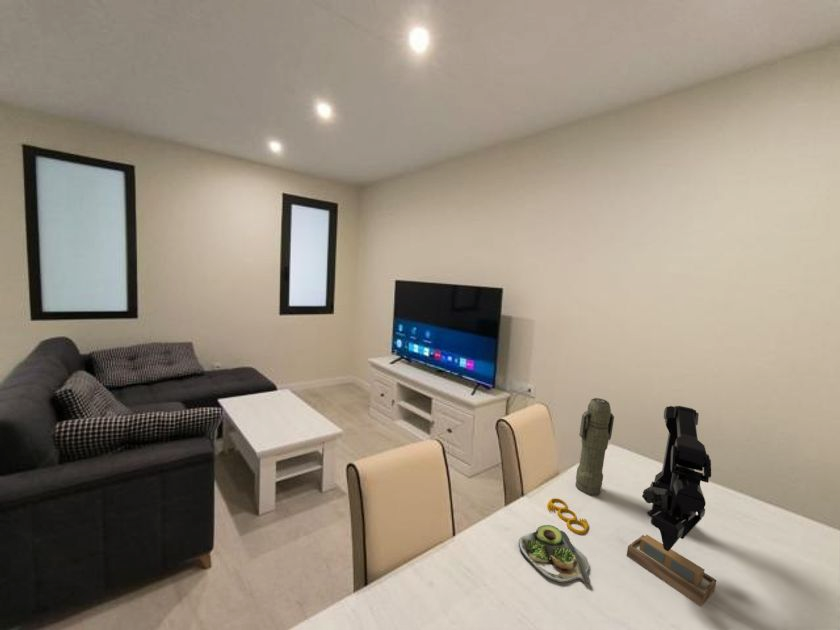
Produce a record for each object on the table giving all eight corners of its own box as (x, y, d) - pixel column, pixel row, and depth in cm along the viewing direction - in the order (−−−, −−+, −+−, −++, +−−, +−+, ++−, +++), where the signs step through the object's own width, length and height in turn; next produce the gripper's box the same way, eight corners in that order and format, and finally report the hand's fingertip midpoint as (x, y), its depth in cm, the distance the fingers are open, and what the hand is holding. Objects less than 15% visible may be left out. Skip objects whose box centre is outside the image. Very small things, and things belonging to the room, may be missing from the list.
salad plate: (610, 579, 94) (612, 563, 94) (560, 601, 87) (563, 584, 86) (555, 529, 112) (557, 516, 111) (510, 544, 104) (511, 529, 104)
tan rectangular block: (645, 545, 104) (646, 534, 104) (702, 581, 93) (704, 569, 93) (639, 549, 102) (640, 538, 102) (696, 587, 91) (699, 575, 90)
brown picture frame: (641, 544, 108) (643, 534, 107) (714, 590, 93) (716, 580, 93) (626, 555, 103) (628, 545, 102) (701, 606, 88) (703, 595, 88)
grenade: (566, 482, 138) (578, 396, 134) (592, 480, 141) (605, 396, 137) (581, 496, 130) (595, 405, 125) (609, 494, 132) (623, 404, 128)
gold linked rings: (567, 536, 109) (596, 535, 111) (567, 532, 109) (597, 530, 111) (540, 502, 125) (566, 501, 127) (541, 498, 125) (567, 497, 127)
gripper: (664, 467, 107) (656, 515, 108) (634, 483, 96) (625, 536, 98) (710, 487, 97) (700, 539, 99) (682, 507, 87) (671, 565, 89)
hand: (673, 543), depth 97 cm, fingers open, 9 cm apart
